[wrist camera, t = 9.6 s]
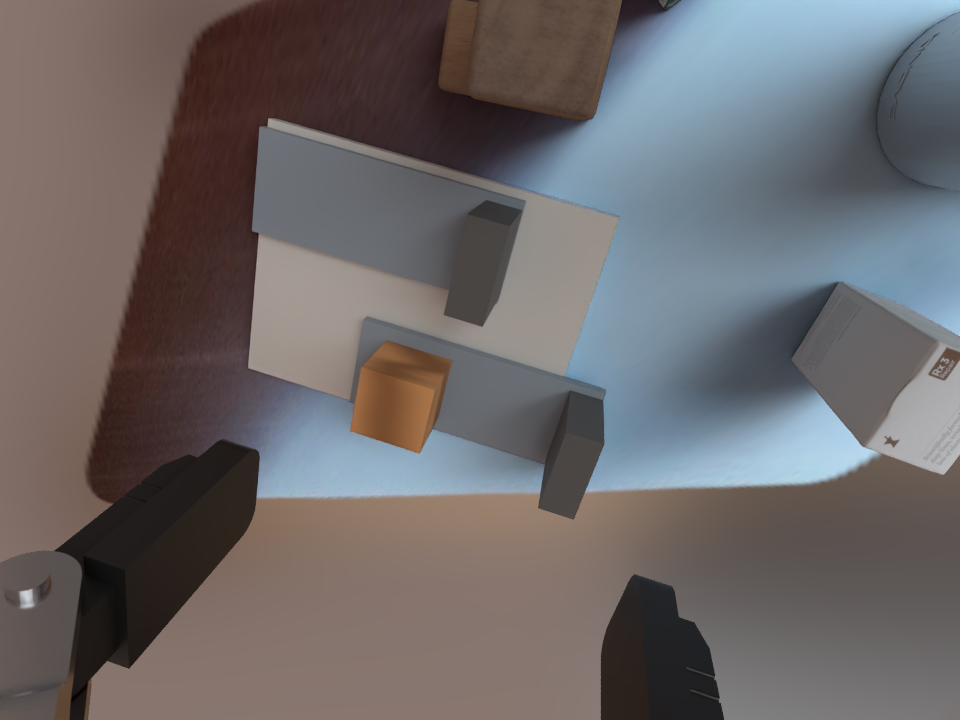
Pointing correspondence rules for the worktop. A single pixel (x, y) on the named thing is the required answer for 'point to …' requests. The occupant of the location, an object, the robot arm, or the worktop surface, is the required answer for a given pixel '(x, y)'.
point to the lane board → (425, 290)
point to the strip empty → (387, 218)
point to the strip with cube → (510, 410)
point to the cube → (400, 395)
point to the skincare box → (887, 376)
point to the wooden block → (530, 53)
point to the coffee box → (668, 4)
